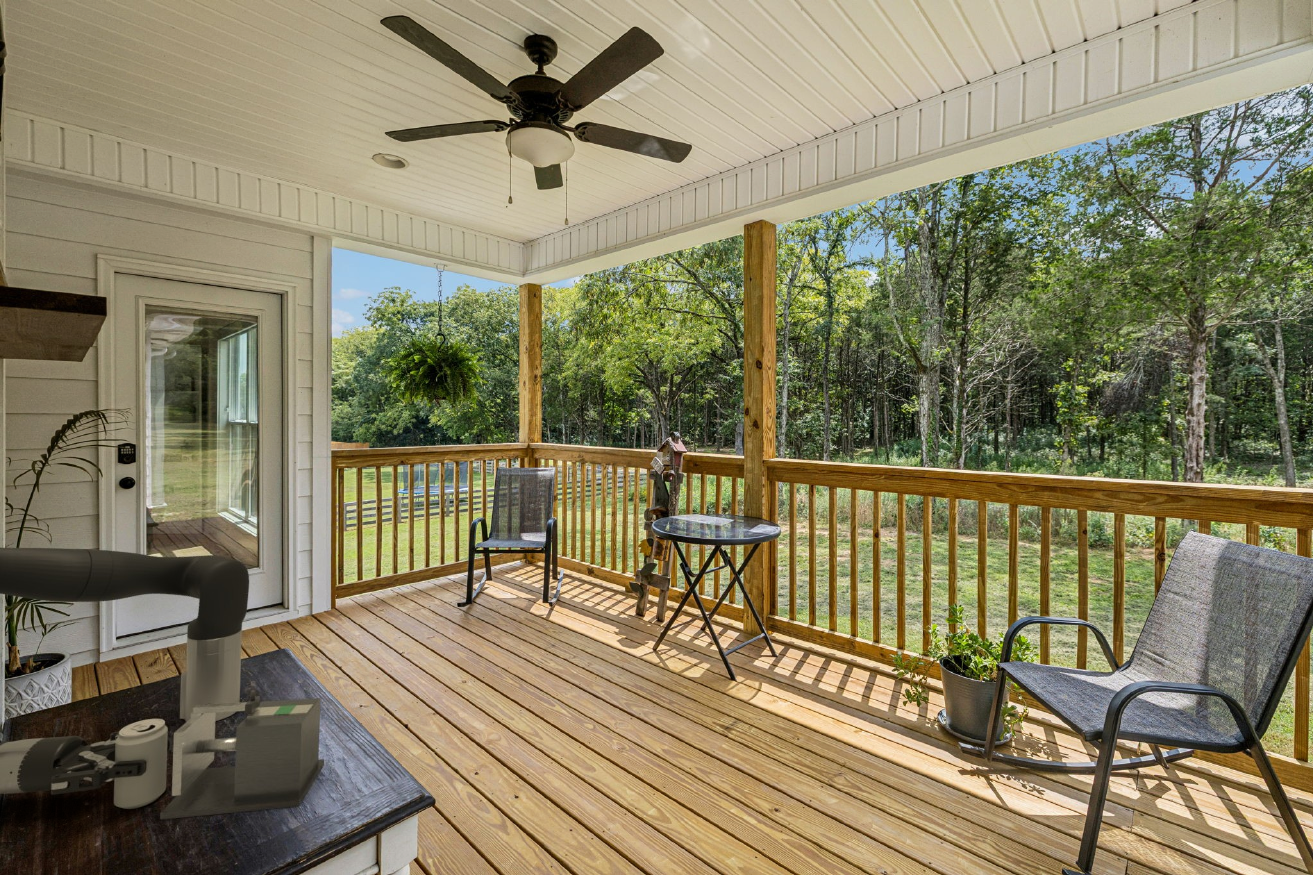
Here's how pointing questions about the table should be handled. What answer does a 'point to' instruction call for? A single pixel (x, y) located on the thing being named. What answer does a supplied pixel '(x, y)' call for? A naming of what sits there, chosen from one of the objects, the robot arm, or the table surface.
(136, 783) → the beverage can
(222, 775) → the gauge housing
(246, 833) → the table surface
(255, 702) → the peak needle
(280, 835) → the table surface
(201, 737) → the paddle
